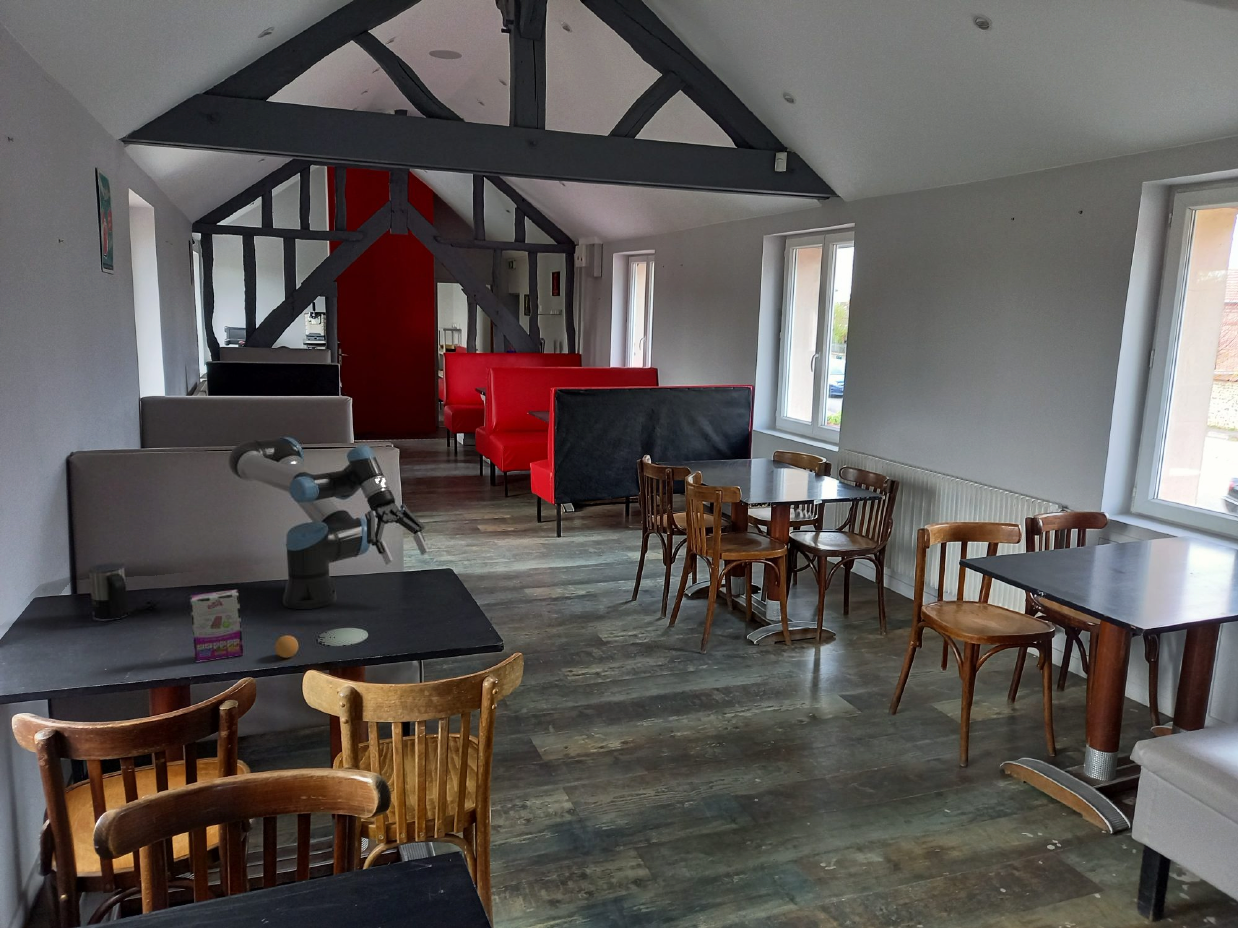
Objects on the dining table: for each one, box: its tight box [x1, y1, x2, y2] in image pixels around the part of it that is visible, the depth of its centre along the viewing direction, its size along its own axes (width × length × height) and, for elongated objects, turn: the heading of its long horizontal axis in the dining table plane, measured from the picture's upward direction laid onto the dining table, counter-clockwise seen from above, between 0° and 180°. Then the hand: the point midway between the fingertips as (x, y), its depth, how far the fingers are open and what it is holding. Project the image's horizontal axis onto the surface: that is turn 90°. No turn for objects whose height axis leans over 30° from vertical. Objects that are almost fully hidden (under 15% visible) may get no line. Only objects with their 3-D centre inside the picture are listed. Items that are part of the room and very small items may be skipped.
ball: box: [274, 634, 299, 659], centre depth 220 cm, size 6×6×6 cm
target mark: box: [317, 627, 369, 647], centre depth 234 cm, size 13×13×1 cm
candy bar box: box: [189, 589, 244, 661], centre depth 219 cm, size 11×5×16 cm, turn 117°
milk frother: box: [87, 562, 162, 619], centre depth 249 cm, size 14×16×15 cm
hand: (407, 558), depth 254 cm, fingers open, 13 cm apart
